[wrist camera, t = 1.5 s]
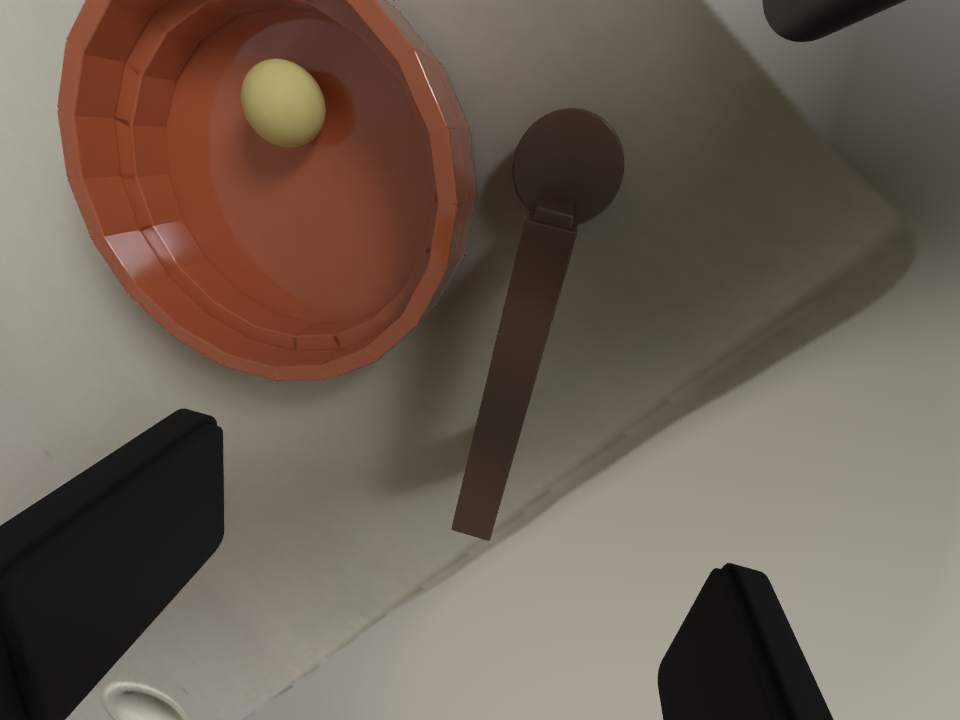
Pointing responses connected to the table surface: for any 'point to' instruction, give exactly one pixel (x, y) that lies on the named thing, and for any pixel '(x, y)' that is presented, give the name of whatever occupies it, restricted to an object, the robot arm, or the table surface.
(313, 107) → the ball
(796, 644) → the robot arm
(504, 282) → the table surface
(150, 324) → the table surface
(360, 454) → the table surface
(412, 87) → the bowl
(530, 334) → the ladle
